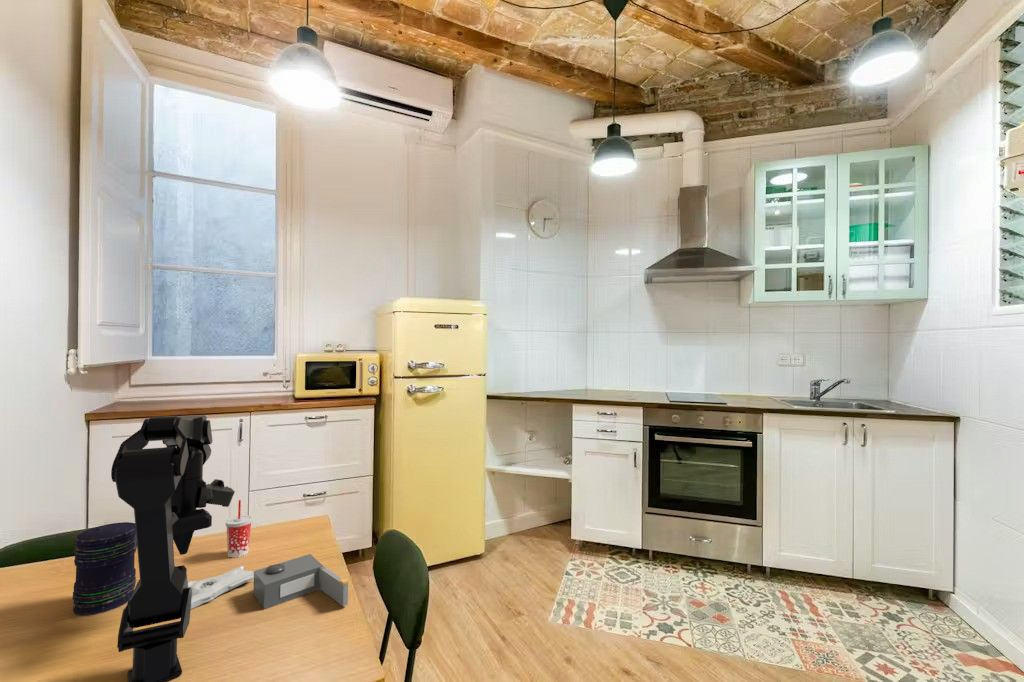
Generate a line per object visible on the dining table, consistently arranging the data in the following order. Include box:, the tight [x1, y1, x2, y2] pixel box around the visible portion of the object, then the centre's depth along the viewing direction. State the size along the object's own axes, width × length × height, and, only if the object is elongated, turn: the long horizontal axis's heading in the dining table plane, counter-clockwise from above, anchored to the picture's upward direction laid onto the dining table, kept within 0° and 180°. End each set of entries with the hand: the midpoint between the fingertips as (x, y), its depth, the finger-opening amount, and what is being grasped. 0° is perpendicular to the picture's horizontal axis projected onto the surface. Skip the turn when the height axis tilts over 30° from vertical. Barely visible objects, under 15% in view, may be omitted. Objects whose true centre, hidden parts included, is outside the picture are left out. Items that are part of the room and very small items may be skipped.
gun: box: [188, 565, 254, 610], centre depth 97 cm, size 18×3×10 cm
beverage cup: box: [224, 499, 254, 558], centre depth 116 cm, size 6×6×14 cm
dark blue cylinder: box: [72, 521, 137, 617], centre depth 93 cm, size 10×10×15 cm
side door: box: [319, 565, 349, 607], centre depth 96 cm, size 1×11×5 cm, turn 49°
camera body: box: [253, 553, 324, 610], centre depth 98 cm, size 8×12×6 cm
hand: (183, 553), depth 90 cm, fingers closed
